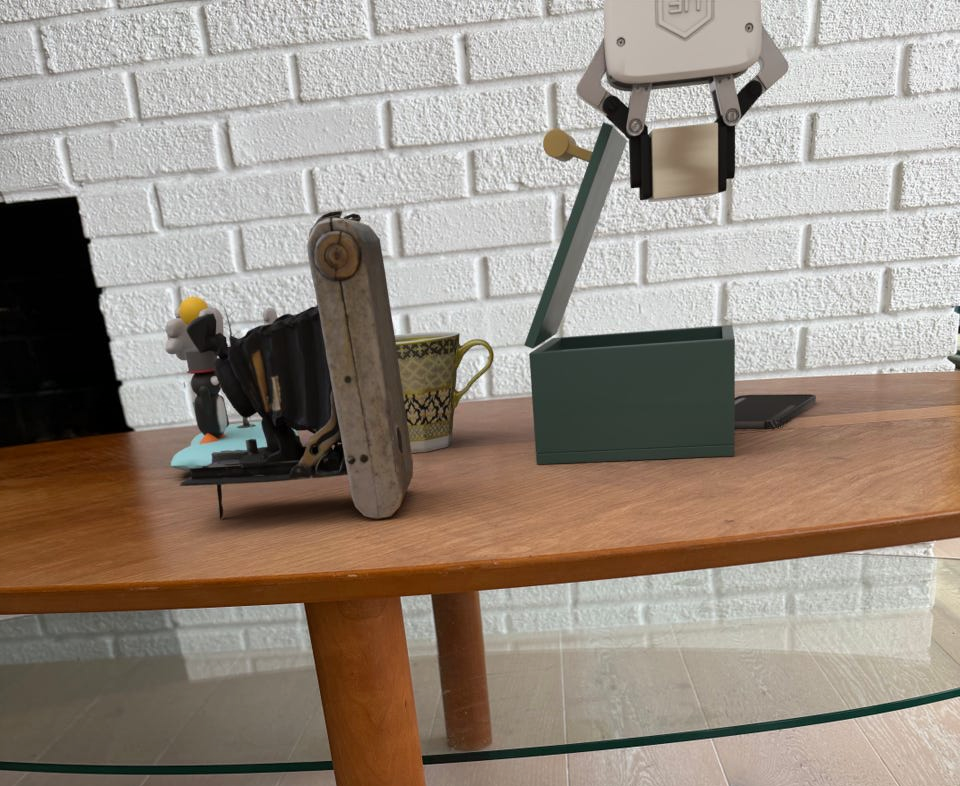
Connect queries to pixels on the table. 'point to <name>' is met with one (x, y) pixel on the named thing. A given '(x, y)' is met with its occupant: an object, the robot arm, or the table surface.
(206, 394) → the penguin figurine
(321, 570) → the table surface
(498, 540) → the table surface
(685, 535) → the table surface
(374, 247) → the vintage camera
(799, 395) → the phone
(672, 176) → the block
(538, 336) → the lid
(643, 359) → the chest
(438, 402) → the ceramic cup
